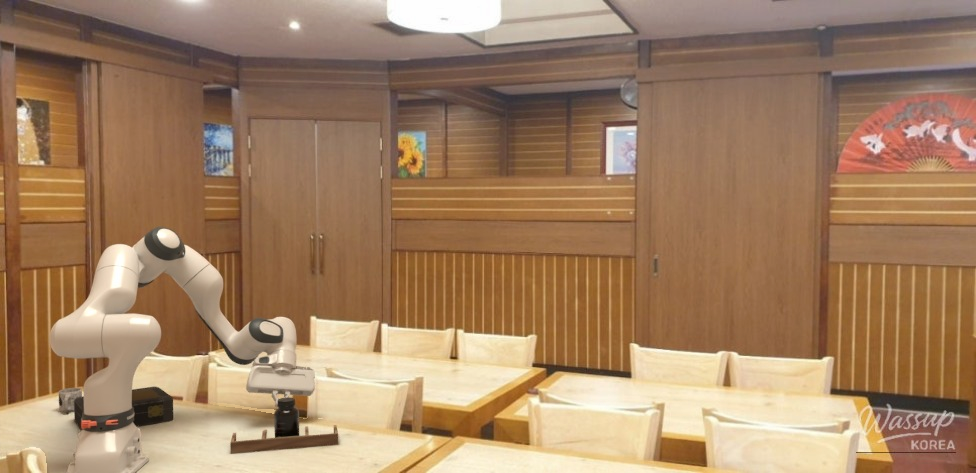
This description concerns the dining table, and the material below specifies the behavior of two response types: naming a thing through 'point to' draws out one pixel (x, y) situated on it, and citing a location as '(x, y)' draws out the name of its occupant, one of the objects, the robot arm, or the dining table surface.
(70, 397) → the mug
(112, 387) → the robot arm
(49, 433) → the dining table surface
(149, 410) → the cash box
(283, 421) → the supplement bottle
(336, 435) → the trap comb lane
